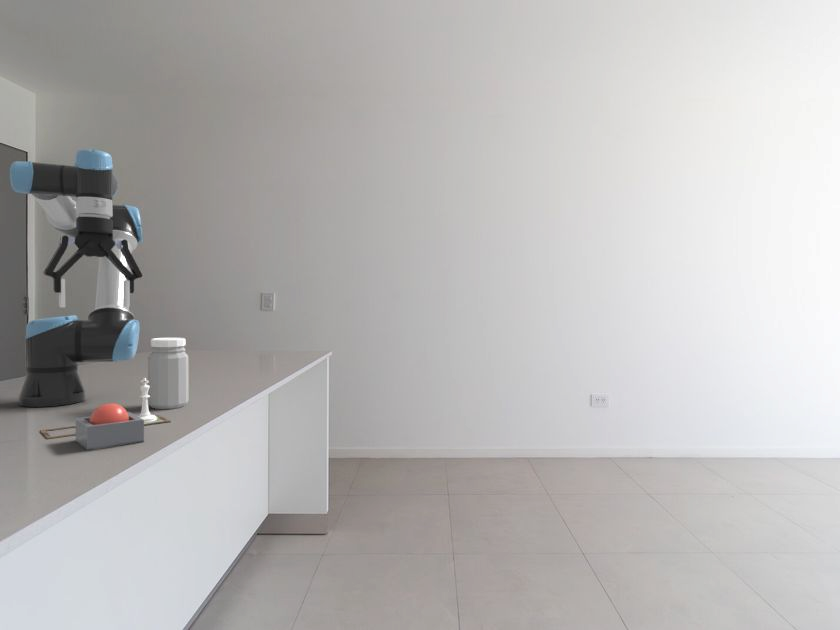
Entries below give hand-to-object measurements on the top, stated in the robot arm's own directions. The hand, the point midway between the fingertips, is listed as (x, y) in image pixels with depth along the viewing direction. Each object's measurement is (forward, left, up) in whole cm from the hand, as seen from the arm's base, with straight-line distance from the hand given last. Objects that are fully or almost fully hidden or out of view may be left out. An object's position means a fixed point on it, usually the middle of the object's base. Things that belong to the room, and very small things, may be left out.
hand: (95, 307), depth 133 cm
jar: (-3, +18, -27) cm, 32 cm away
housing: (+26, -3, -27) cm, 37 cm away
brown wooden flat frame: (+12, 0, -27) cm, 29 cm away
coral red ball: (+26, -3, -26) cm, 37 cm away
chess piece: (+12, +7, -27) cm, 30 cm away
